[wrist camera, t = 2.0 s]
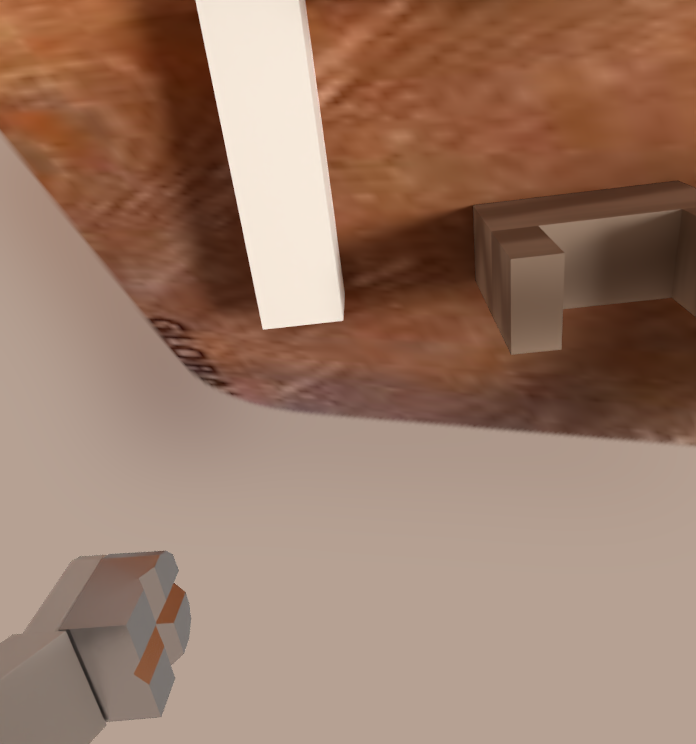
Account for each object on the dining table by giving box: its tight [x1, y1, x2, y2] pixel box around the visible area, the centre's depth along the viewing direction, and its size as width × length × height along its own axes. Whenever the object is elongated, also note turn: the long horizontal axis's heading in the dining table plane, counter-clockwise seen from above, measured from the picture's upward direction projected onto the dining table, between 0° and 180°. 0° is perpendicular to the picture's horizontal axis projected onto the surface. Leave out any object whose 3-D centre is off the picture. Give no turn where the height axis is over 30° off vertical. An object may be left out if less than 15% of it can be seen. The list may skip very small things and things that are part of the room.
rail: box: [195, 0, 345, 329], centre depth 28 cm, size 18×4×4 cm, turn 7°
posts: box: [473, 181, 696, 355], centre depth 25 cm, size 18×10×9 cm, turn 7°
